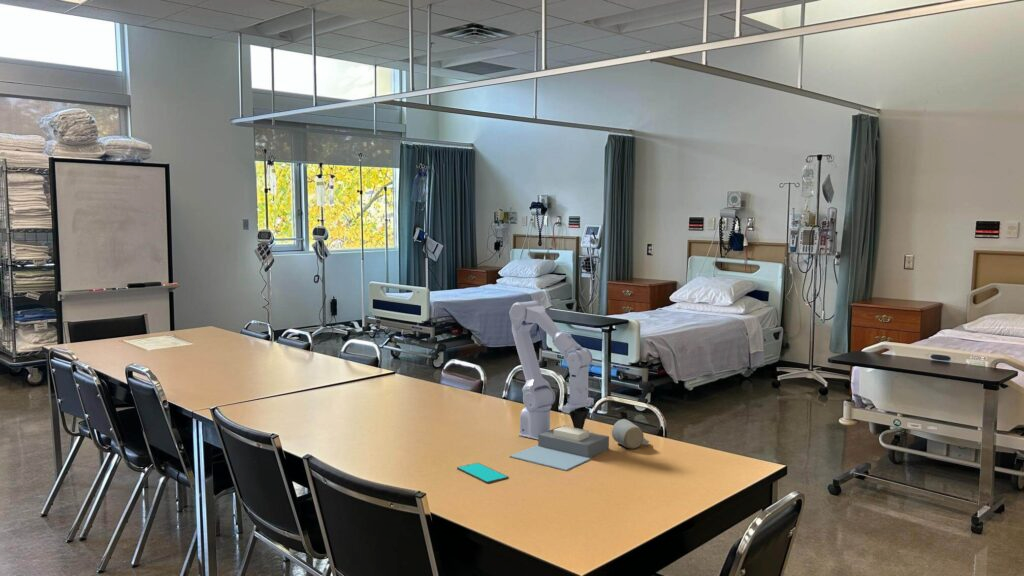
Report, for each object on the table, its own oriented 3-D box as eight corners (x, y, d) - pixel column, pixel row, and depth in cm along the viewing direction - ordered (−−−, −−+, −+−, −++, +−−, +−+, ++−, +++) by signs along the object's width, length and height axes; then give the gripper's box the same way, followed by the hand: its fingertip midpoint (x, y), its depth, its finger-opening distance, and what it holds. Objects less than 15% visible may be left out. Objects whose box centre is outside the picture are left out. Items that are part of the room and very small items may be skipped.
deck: (538, 447, 229) (538, 434, 229) (560, 438, 239) (560, 426, 239) (587, 458, 218) (588, 445, 218) (608, 449, 228) (609, 436, 228)
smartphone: (487, 482, 197) (456, 467, 209) (487, 485, 197) (456, 470, 209) (509, 476, 202) (478, 462, 214) (509, 479, 202) (478, 465, 214)
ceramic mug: (624, 451, 226) (625, 426, 225) (610, 443, 233) (611, 419, 233) (654, 448, 230) (655, 423, 229) (640, 440, 237) (640, 417, 237)
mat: (509, 457, 220) (509, 455, 220) (535, 446, 230) (535, 445, 230) (566, 471, 208) (566, 469, 208) (590, 459, 218) (590, 458, 218)
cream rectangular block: (553, 436, 228) (553, 429, 228) (564, 431, 232) (564, 425, 232) (578, 441, 222) (578, 434, 222) (589, 436, 227) (589, 430, 227)
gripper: (577, 394, 221) (576, 438, 222) (602, 385, 233) (601, 428, 234) (557, 390, 225) (557, 434, 227) (583, 382, 237) (582, 424, 238)
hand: (578, 431), depth 230 cm, fingers closed
